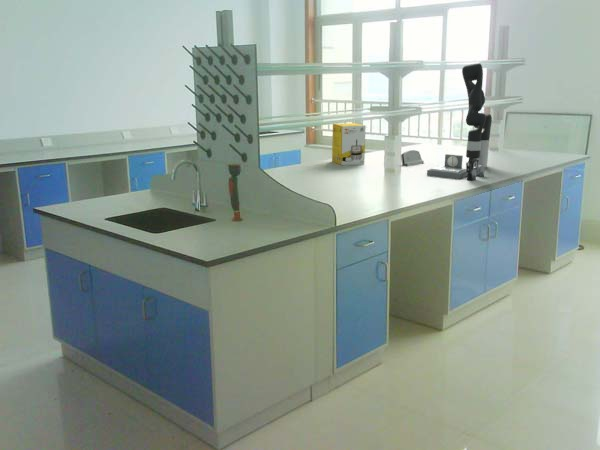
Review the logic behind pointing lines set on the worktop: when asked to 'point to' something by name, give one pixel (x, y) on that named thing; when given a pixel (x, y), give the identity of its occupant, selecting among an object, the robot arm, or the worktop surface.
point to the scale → (449, 168)
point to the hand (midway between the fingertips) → (471, 178)
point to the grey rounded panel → (411, 158)
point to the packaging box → (348, 144)
